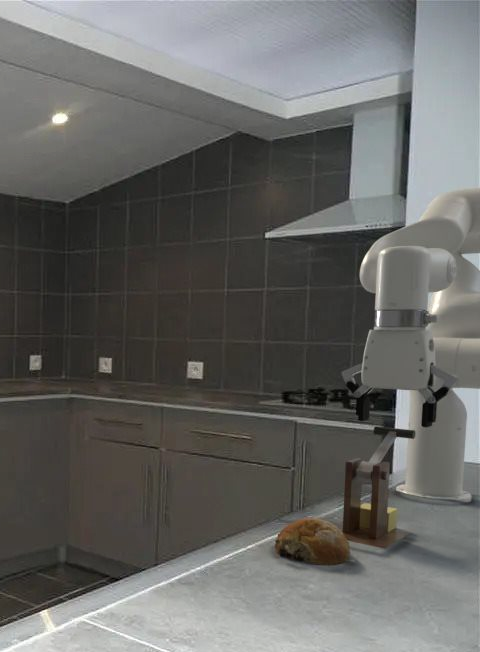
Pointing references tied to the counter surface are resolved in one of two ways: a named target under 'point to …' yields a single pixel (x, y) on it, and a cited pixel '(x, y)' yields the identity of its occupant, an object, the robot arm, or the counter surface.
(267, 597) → the counter surface
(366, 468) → the arm
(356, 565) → the counter surface
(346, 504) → the cutter
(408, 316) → the robot arm
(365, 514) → the butter
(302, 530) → the bread roll
